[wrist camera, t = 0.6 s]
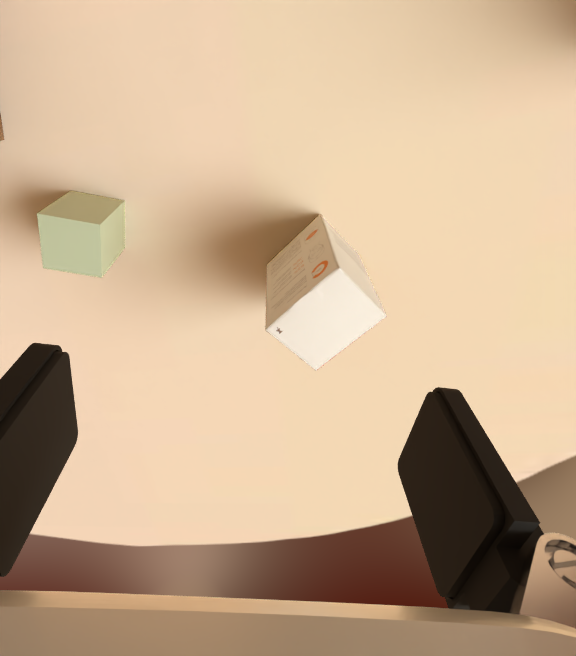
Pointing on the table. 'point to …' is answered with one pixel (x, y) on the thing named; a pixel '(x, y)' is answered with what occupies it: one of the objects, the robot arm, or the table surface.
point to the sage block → (82, 233)
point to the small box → (319, 295)
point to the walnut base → (1, 130)
